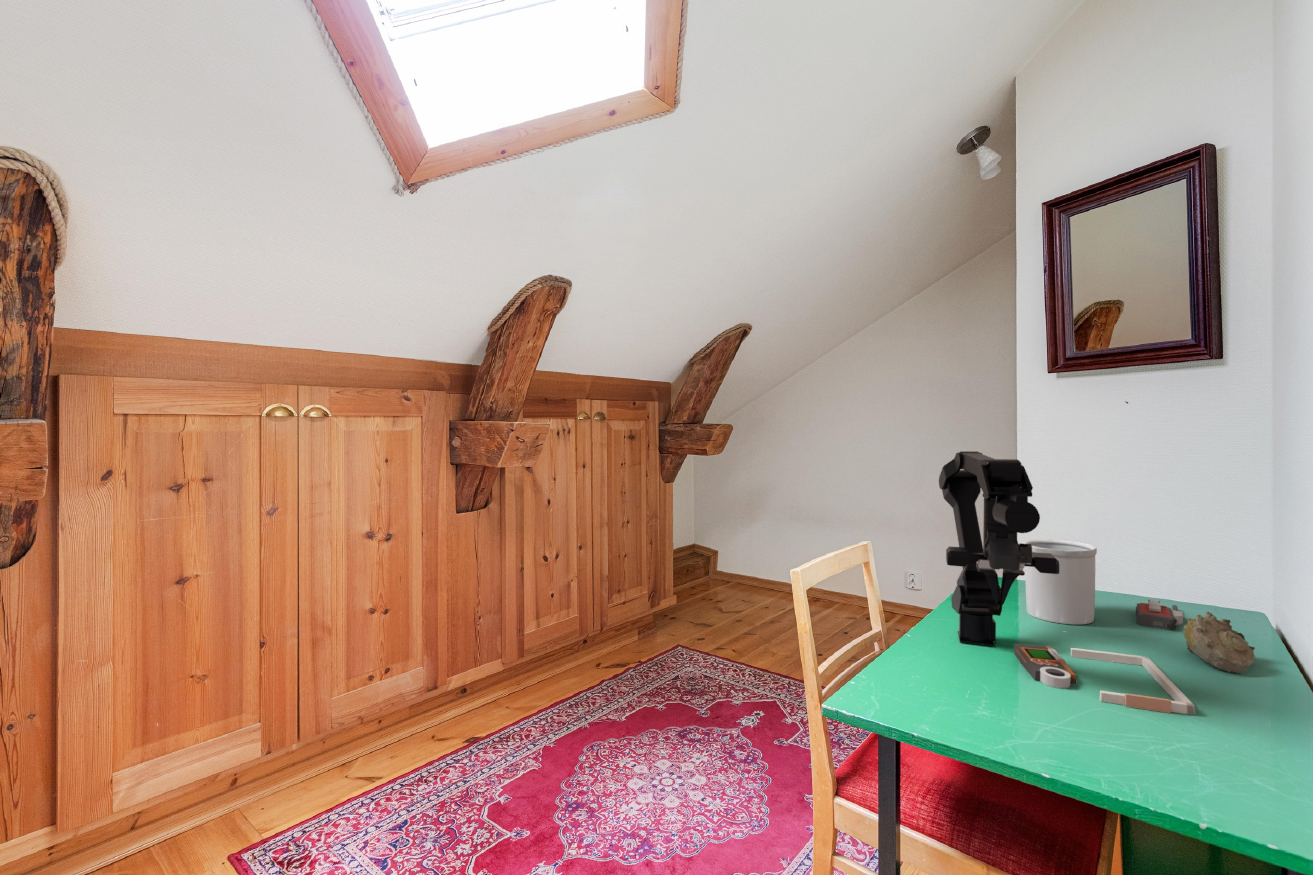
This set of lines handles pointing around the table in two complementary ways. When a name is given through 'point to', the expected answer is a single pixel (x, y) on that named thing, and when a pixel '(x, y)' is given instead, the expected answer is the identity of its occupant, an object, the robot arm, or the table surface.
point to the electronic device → (1045, 665)
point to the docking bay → (1138, 701)
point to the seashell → (1218, 643)
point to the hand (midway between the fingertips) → (999, 603)
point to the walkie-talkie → (1158, 615)
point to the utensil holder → (1062, 583)
